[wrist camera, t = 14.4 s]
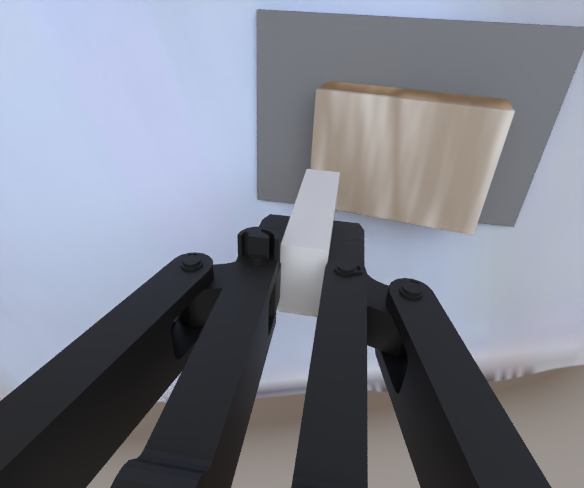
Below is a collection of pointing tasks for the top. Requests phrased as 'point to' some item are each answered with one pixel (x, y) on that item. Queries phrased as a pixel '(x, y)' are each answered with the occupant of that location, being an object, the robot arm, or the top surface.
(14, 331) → the top surface
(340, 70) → the mat
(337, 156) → the wooden block
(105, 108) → the top surface
